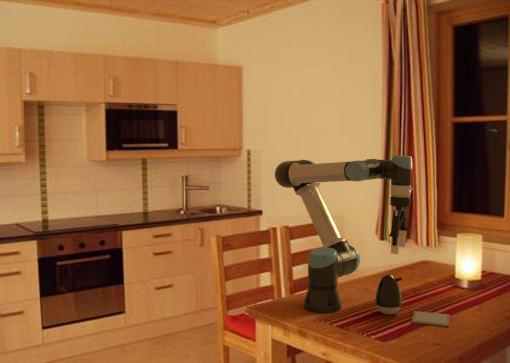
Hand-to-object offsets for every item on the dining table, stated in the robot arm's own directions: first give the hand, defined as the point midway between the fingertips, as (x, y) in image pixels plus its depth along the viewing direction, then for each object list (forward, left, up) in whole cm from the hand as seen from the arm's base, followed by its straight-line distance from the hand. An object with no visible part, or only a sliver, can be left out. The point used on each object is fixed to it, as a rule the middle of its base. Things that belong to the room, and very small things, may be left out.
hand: (398, 250), depth 211 cm
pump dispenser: (-3, -1, -25) cm, 25 cm away
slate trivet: (+13, -4, -25) cm, 28 cm away
